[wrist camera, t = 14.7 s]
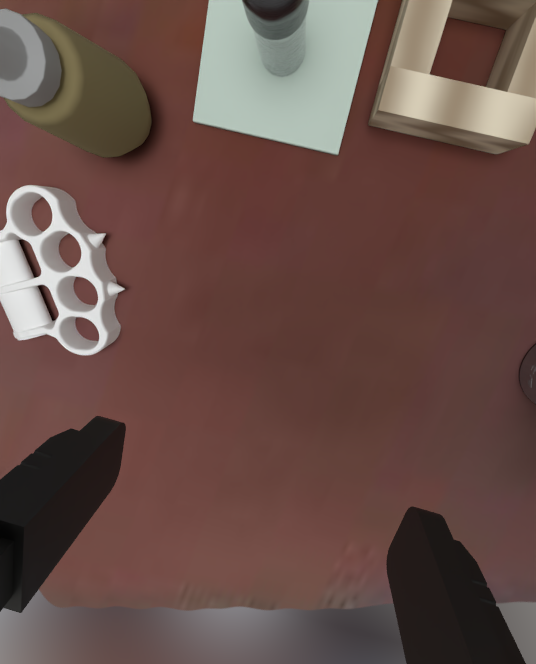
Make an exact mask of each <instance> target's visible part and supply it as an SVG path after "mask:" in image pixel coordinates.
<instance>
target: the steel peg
mask: <svg viewBox="0 0 536 664" xmlns="http://www.w3.org/2000/svg"><path fill="white" fill-rule="evenodd" d="M242 3H243V6H244V10H245V13H246V16H247V19H248V21H249V24H250V25H251V27H252V28H253V31H254V35H255V38H256V42H257V46H258V49H259V53H260V57H261V60H262V63H263V65H264V66H265V68H266V69H267V70H268V71H269V72H270V73H271V74H273V75H275V76H279V77H284V76H289V75H291V74H293V73H294V72H295V71H297V70H298V68H299V67H300V66H301V64H302V62H303V60H304V57H305V53H306V14H307V11H308V6H309V0H242Z"/></svg>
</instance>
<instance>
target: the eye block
mask: <svg viewBox="0 0 536 664" xmlns="http://www.w3.org/2000/svg"><path fill="white" fill-rule="evenodd" d="M447 17H450V18H454V19H459V20H463V21H468V22H473V23H477V24H482V25H486V26H491V27H495V28H500V29H504V30H506V32H505V35H504V38H503V40H502V43H501V46H500V49H499V52H498V54H497V57H496V60H495V63H494V66H493V68H492V71H491V74H490V77H489V79H488V82H487V85H486V87H483V86H478V85H474V84H469V83H465V82H460V81H456V80H451V79H447V78H442V77H438V76H433V75H429V74H430V71H431V67H432V64H433V61H434V58H435V55H436V51H437V48H438V45H439V42H440V39H441V35H442V32H443V29H444V26H445V23H446V19H447ZM368 125H369V126H374V127H378V128H383V129H387V130H391V131H396V132H400V133H404V134H409V135H413V136H418V137H422V138H426V139H431V140H435V141H440V142H444V143H448V144H453V145H457V146H462V147H466V148H470V149H475V150H479V151H483V152H488V153H492V154H500V153H503V152H506V151H509V150H512V149H515V148H518V147H521V146H525V145H528V144H529V142H530V140H531V138H532V135H533V133H534V130H535V128H536V0H402V3H401V7H400V10H399V14H398V17H397V21H396V25H395V28H394V32H393V36H392V39H391V43H390V46H389V50H388V54H387V57H386V61H385V65H384V68H383V72H382V75H381V79H380V83H379V86H378V90H377V94H376V97H375V101H374V104H373V108H372V112H371V115H370V119H369V123H368Z"/></svg>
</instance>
